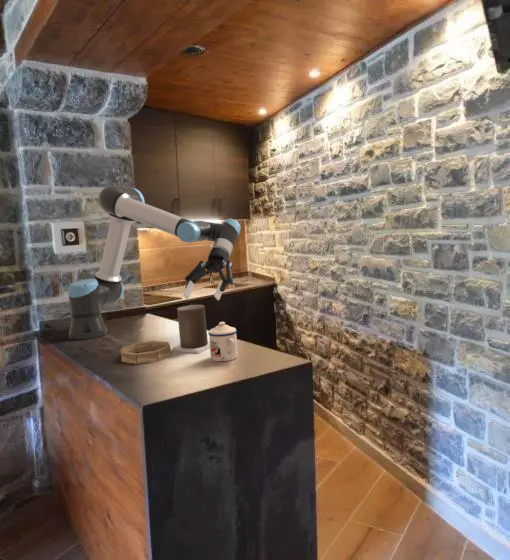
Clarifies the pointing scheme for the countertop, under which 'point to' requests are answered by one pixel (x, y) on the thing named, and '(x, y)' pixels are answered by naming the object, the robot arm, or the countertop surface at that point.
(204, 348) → the coaster
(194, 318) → the pillar candle
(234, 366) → the countertop surface
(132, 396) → the countertop surface
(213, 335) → the teacup with lid
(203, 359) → the countertop surface
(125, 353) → the holder ring
